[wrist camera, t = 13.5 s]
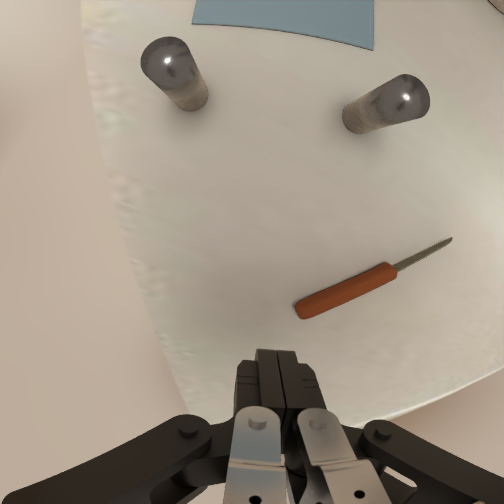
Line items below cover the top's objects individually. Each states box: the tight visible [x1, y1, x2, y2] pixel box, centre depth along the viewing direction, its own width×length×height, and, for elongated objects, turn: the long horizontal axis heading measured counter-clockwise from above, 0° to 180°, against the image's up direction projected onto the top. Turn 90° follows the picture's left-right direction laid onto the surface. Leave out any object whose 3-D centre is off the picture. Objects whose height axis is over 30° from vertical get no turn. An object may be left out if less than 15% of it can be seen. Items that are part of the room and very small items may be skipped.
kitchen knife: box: [295, 237, 452, 319], centre depth 26 cm, size 16×1×2 cm, turn 114°
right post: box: [342, 74, 430, 134], centre depth 19 cm, size 3×3×9 cm
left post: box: [141, 37, 208, 111], centre depth 18 cm, size 3×3×9 cm
